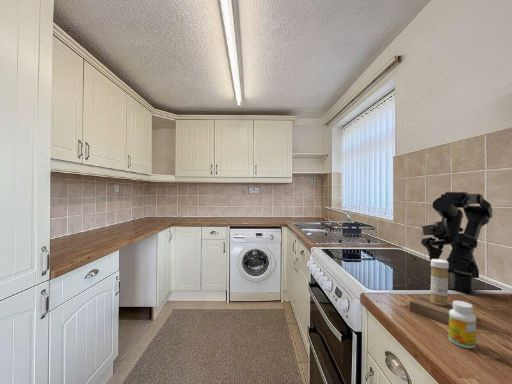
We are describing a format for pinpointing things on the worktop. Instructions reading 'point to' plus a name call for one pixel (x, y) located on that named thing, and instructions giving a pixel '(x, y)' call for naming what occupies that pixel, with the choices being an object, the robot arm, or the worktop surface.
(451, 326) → the supplement bottle
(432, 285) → the sprinkles bottle
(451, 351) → the worktop surface
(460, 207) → the robot arm
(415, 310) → the walnut block
